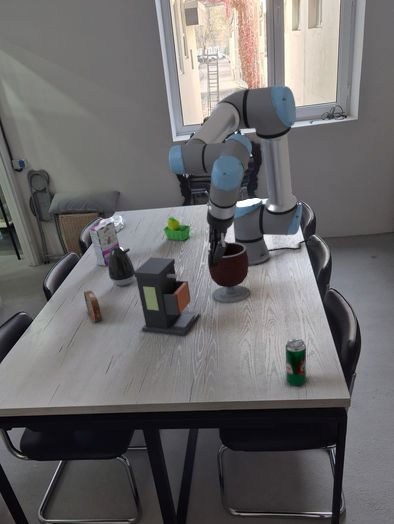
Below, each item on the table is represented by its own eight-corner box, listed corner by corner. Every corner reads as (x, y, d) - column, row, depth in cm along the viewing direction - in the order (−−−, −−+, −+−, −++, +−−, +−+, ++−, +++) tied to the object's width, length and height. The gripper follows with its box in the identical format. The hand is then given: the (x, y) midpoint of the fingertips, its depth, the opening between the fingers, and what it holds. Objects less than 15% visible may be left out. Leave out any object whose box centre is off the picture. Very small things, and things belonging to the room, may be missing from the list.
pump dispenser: (132, 288, 189) (124, 251, 180) (107, 288, 191) (99, 252, 183) (140, 277, 197) (133, 241, 189) (116, 277, 199) (108, 242, 191)
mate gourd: (229, 282, 182) (225, 231, 172) (258, 291, 173) (255, 238, 163) (200, 299, 174) (193, 246, 163) (229, 309, 165) (224, 254, 154)
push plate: (190, 302, 159) (187, 282, 155) (180, 313, 153) (177, 294, 149) (186, 301, 159) (183, 282, 155) (176, 313, 153) (173, 293, 149)
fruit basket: (192, 236, 230) (189, 212, 224) (182, 242, 224) (178, 219, 218) (173, 234, 235) (169, 211, 229) (162, 240, 229) (158, 217, 223)
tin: (86, 308, 178) (81, 288, 174) (95, 306, 179) (89, 285, 175) (95, 326, 166) (90, 304, 162) (104, 323, 167) (99, 301, 163)
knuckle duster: (101, 223, 263) (128, 220, 262) (96, 234, 248) (124, 231, 247) (100, 217, 262) (127, 214, 261) (94, 228, 246) (122, 225, 245)
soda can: (284, 376, 130) (283, 339, 123) (303, 374, 130) (303, 336, 123) (289, 388, 126) (288, 349, 119) (308, 385, 126) (308, 346, 119)
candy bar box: (113, 255, 221) (105, 220, 212) (122, 256, 218) (114, 221, 210) (97, 265, 213) (88, 229, 204) (105, 266, 211) (97, 230, 202)
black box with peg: (199, 315, 164) (191, 258, 152) (183, 335, 154) (174, 276, 143) (159, 312, 169) (149, 256, 158) (142, 331, 160) (130, 273, 148)
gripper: (202, 194, 135) (196, 250, 155) (213, 230, 129) (206, 283, 149) (228, 191, 136) (219, 247, 156) (240, 226, 130) (229, 279, 151)
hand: (213, 264), depth 153 cm, fingers closed
